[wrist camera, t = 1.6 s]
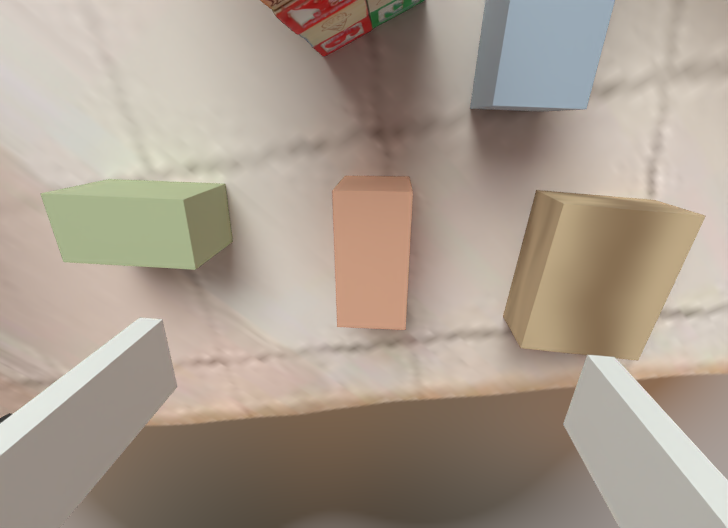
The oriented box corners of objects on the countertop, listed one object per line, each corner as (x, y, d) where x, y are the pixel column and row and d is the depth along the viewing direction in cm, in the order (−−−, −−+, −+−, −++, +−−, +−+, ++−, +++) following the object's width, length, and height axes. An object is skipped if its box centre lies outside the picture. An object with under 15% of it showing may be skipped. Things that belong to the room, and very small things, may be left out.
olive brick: (125, 235, 25) (63, 262, 20) (110, 178, 23) (40, 193, 19) (233, 241, 24) (195, 269, 20) (226, 183, 23) (183, 199, 18)
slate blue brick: (541, 111, 20) (586, 109, 15) (469, 108, 20) (492, 105, 15) (580, -72, 17) (653, -145, 12) (495, -73, 17) (534, -145, 12)
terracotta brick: (403, 290, 25) (405, 329, 20) (347, 288, 25) (337, 326, 20) (408, 176, 22) (412, 191, 17) (345, 175, 22) (332, 190, 17)
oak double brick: (501, 314, 25) (520, 348, 21) (534, 189, 21) (563, 203, 18) (601, 324, 25) (637, 360, 21) (651, 199, 21) (705, 215, 17)
